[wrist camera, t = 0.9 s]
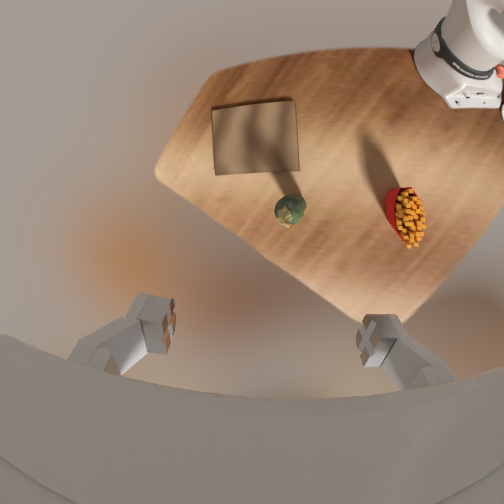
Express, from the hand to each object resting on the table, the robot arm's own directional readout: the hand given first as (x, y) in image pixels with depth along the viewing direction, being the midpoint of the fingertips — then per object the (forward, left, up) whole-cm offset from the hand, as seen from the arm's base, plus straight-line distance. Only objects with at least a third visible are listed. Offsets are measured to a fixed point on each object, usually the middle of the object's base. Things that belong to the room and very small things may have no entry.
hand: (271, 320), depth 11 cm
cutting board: (+13, -14, -44) cm, 48 cm away
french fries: (-15, 0, -44) cm, 46 cm away
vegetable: (+4, -1, -44) cm, 44 cm away
